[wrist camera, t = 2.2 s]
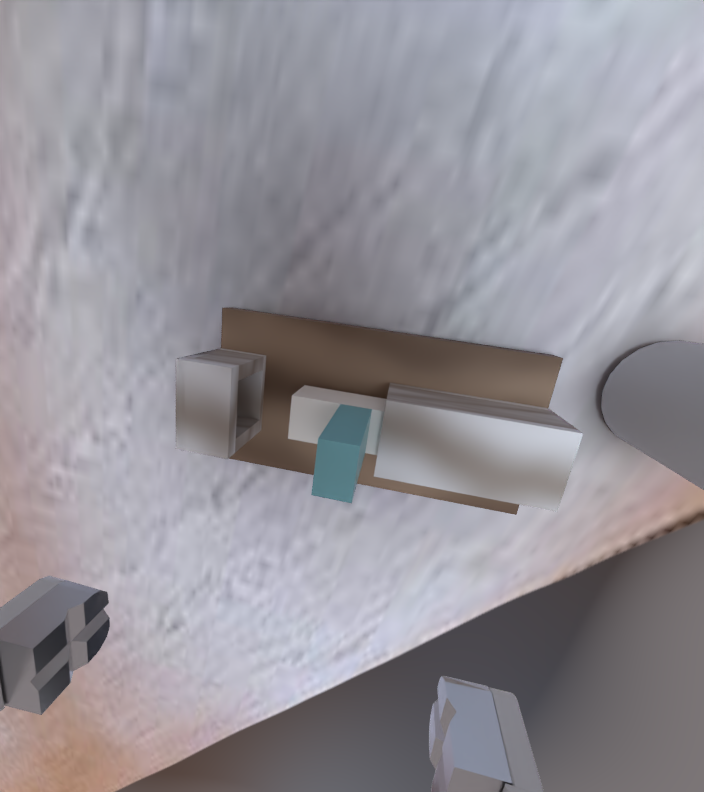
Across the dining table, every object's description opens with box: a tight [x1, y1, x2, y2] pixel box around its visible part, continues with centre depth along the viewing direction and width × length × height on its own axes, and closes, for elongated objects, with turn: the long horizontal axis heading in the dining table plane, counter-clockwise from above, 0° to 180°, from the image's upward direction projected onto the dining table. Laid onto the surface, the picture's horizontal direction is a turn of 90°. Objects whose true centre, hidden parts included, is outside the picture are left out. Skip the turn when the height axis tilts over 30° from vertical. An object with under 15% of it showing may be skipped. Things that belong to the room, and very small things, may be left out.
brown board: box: [176, 308, 583, 515], centre depth 24 cm, size 12×24×7 cm, turn 82°
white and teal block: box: [288, 385, 387, 503], centre depth 21 cm, size 3×16×9 cm, turn 82°
